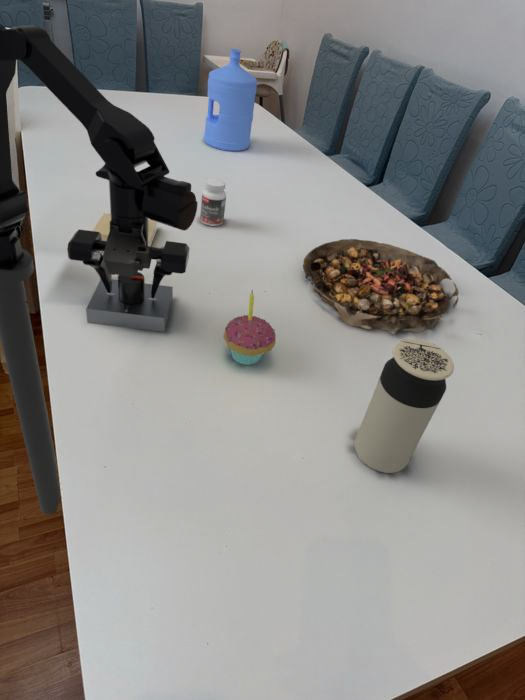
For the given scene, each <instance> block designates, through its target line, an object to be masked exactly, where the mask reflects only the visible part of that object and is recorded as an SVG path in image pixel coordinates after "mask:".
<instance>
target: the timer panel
mask: <svg viewBox="0 0 525 700" xmlns="http://www.w3.org/2000/svg"><path fill="white" fill-rule="evenodd" d="M152 284H153V283H146V282H144V293H145V297H144V300H143V301H142V302H140V303H136V304H127V303H124V302H122V301H121V300H120V299H119V294H118V279H113V278H112V291H111V293H108V292H107V290H106V288H105V286H104V284H103V282H102V280H101V279H99V282H98V284H97V285H96V287H95V290H94V291H93V294H92V296H91V298H90V299H89V301H88V304H87V306H86V308H85V311H86V322H87V324H91V325H92V324H93V325H100V326H109V327H117V328H118V327H119V328H125V329H126V328H127V329H136V330H144V331H151V332H159V333H160V332H161V333H164V332H165V330H166V326H167V322H168V318H169V316H170V315H169V314H170V311H171V307H172V304H173V295H174V294H173V293H174V287H173V286H170V285H161V284H159V286H158V289H157V291H156V294H155V296H154V298H151V290H152Z"/></svg>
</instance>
